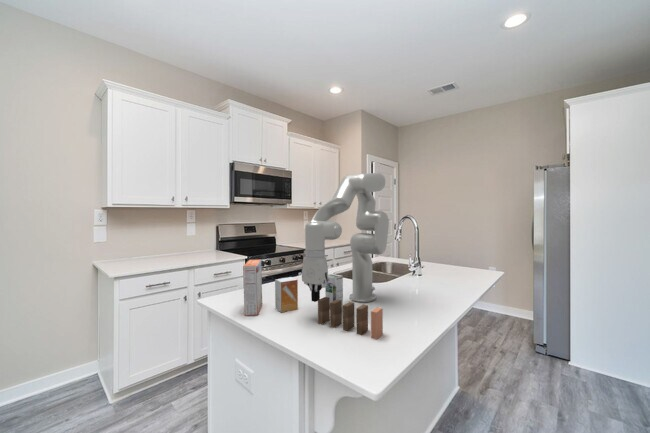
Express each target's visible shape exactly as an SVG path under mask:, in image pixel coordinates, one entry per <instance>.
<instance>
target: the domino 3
mask: <svg viewBox="0 0 650 433" xmlns="http://www.w3.org/2000/svg"><path fill="white" fill-rule="evenodd" d="M355 320H356V319H355V301H348V302H346V303H345V304H344V303H343V308H342V331H344V332H347V333H348V332H349V331H351V330H352V329H353V328H355V327H356V326H355V323H356V322H355Z"/></svg>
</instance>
